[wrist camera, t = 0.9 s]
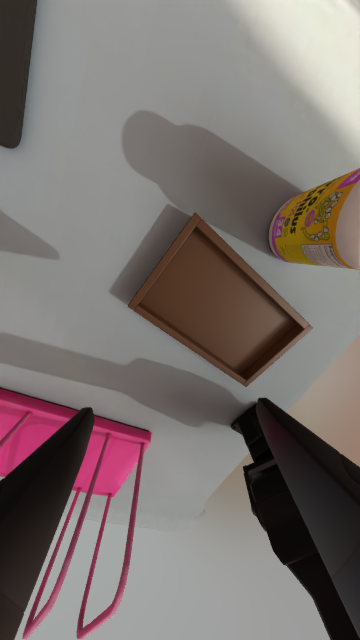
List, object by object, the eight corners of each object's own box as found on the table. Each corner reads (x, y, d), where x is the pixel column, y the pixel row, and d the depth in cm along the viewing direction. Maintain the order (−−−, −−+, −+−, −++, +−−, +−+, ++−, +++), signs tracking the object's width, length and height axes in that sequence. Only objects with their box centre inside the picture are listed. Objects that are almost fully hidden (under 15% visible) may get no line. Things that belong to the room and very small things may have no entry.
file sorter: (116, 485, 35) (78, 654, 20) (-26, 456, 29) (-219, 660, 15) (152, 431, 30) (136, 606, 15) (-13, 383, 24) (-293, 587, 9)
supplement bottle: (300, 179, 17) (592, 19, 5) (336, 224, 19) (615, 180, 7) (253, 237, 19) (394, 213, 7) (290, 274, 21) (452, 304, 9)
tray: (301, 321, 23) (313, 328, 21) (240, 377, 26) (246, 387, 24) (192, 216, 18) (195, 212, 16) (130, 301, 21) (127, 306, 19)
